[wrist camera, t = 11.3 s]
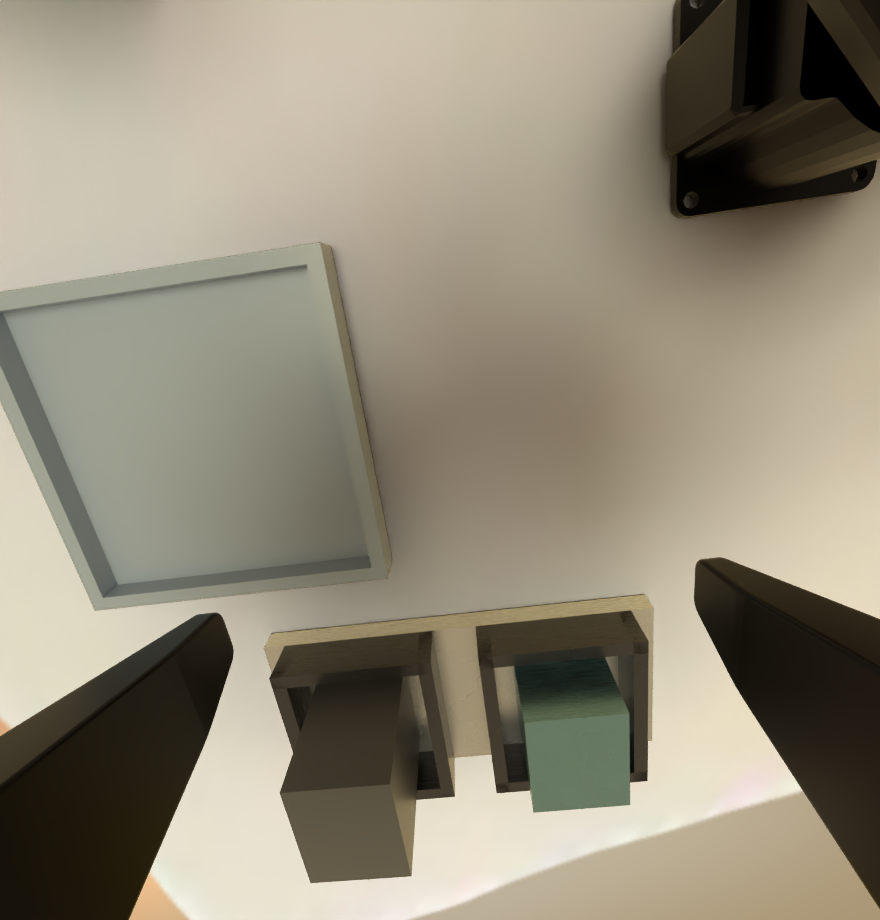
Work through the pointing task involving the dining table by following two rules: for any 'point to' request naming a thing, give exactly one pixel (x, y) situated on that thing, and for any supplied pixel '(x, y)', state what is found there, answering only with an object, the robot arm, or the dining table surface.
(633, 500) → the dining table surface
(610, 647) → the double socket holder
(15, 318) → the tray
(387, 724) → the block
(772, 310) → the dining table surface
